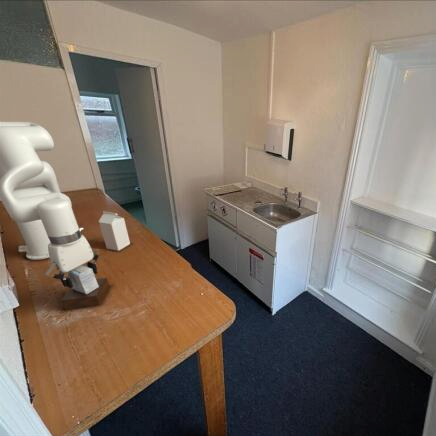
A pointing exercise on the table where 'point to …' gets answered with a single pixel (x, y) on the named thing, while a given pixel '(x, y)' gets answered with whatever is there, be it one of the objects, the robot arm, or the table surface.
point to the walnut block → (85, 296)
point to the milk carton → (114, 231)
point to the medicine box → (83, 279)
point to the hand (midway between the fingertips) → (81, 279)
